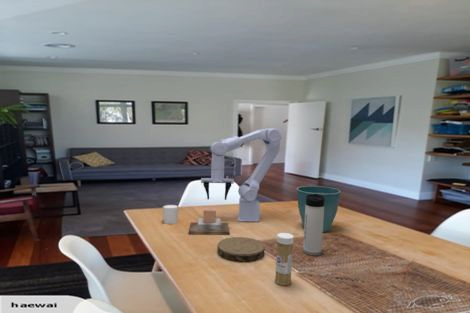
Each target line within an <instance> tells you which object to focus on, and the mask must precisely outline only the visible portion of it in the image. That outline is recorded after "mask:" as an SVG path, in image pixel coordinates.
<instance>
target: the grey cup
mask: <svg viewBox="0 0 470 313" xmlns="http://www.w3.org/2000/svg"><path fill="white" fill-rule="evenodd" d="M162 215H163V223H164V224H166V225H174V224H177V222H178V217H179V205H176V204H165V205H163V206H162Z"/></svg>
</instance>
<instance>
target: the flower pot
mask: <svg viewBox="0 0 470 313" xmlns="http://www.w3.org/2000/svg"><path fill="white" fill-rule="evenodd" d="M296 192H297V207H298V212H299V215H300V218H301V223H302V228H303V229H304V224H305V206H306V196H307V195H312V194H319V195H321V196H323V197H324V198H325V200H324V220H323V233H324V232H330V231H331V230H332V225H333V223H334V221H335V220H334V219H335V218H336V215H337V213H338V210H339V209H338V208H339V203H340V202H339V201H340V194H341V190H339V189H337V188H333V187H330V186H329V187H328V186H319V185H317V186H316V185H306V186H305V185H303V186H298V187H297V188H296Z"/></svg>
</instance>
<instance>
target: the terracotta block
mask: <svg viewBox="0 0 470 313" xmlns="http://www.w3.org/2000/svg"><path fill="white" fill-rule="evenodd" d="M202 211H203V215H202V216H203V217H202V218H203V223H216V218H217V208H216V207H206V206H205V207H203V210H202Z"/></svg>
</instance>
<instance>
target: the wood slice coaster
mask: <svg viewBox="0 0 470 313" xmlns="http://www.w3.org/2000/svg"><path fill="white" fill-rule="evenodd" d="M216 252H217V255H218V256H219V257H220V258H221V259H223V260H226V261H230V262H233V263H253V262H256V261H260V260H261V259H263V258H264V257H265V244H264V243H263V242H261V241H260V240H259V239H258V240H257V239H254V238H251V237H245V236H244V237H241V236H234V237H227V238H224V239H222V240H221V239H220V240H219V241H218V243H217V251H216Z"/></svg>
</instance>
